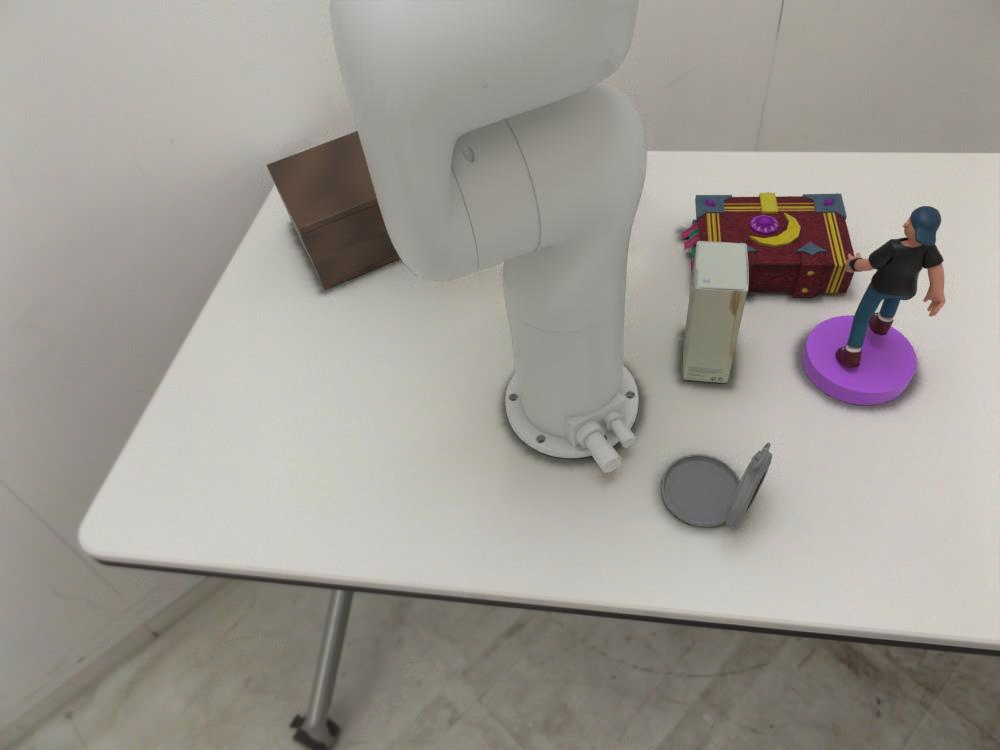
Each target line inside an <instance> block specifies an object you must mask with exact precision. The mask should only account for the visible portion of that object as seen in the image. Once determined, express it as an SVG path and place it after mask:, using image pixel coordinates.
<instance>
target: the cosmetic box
mask: <svg viewBox="0 0 1000 750" xmlns="http://www.w3.org/2000/svg"><path fill="white" fill-rule="evenodd" d="M748 269H749V268H748V254H747V244H745V243H727V242H710V241H698V242H697V245H696V252H695V260H694V268H692V276H691V283H690V292H689V300H688V307H687V314H686V322H685V330H684V335H683V336H684V337H683V350H682V351H683V352H682V353H683V354H682V379H683V380H685V381H687V380H688V381H697V382H707V383H720V384H721V383H722V384H727V383H728V382H729V378H730V374H731V369H732V366H733V365H732V364H733V360H734V355H735V352H736V346H737V342H738V337H739V332H740V328H741V323H742V318H743V313H744V310H745V304H746V299H747V296H748V294H747V292H748V284H749V271H748ZM748 293H749V292H748Z"/></svg>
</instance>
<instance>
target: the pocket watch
mask: <svg viewBox="0 0 1000 750" xmlns="http://www.w3.org/2000/svg"><path fill="white" fill-rule="evenodd" d="M770 448H771V442H766V444H765V445H764V446H763V447H762V448H761V450H758V451H757V452H756V453H755V454H753V456H752V457H751V460H750V461H749V463H748V465H747V467H746V469H745V471H744V472H743V474H742V476H741V478H739V476H738V474H737V472H736V471H735V470H734V469H732V468H731V467H730V465H729V464H727V463H726V462H724V461H722V460H721V459H718V458H717V457H714V456H711V455H707V454H699V453H697V454H688V455H685V456H681V457H679V458H678V459H676V460H674V461H672V462H671V463H670V464H669V465H668V467H666V469H665V471H664V472H663V475H662V478H661V481H660V489H661V490H660V491H661V496H662V500H663V502H664V504H665V505H666V507H667V509H668V510H669V511H670V512H671V514H673V515H674V516H675V517H677V518H678V519H680V520H681V521H682V522H685V523H687V524H689V525H692V526H695V527H701V528H702V527H704V528H706V527H707V528H709V527H711V528H712V527H716V526H720V525H722V524H725V526H727V527H729V528H731V529H738V528H739V527H740V526H741V525H742V524H743V522H744V520H745V518H746V516H747V515H748V512H749V511H750V509H751V507H752V505H753V503H754V501H755V499H756V498H757V495H758V492H759V491H760V488H761V487H762V485H763V483H764V481H765V478H766V476H767V474H768V471H769V469H770V466H771V463H772V459H773V454H772V453H771V452H770V451H769V450H770Z"/></svg>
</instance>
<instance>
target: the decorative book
mask: <svg viewBox="0 0 1000 750" xmlns="http://www.w3.org/2000/svg"><path fill="white" fill-rule="evenodd" d="M844 203H845V202H844V199H843V195H842V193H803V194H802V195H801V196H800V195H798V196H797V195H794V196H793V195H792V196H791V195H790V196H788V195H786V196H784V195H783V196H782V195H781V196H780V195H779V196H776V192H759V194H758V196H733V194H695V198H694V204H695V218H696V219H692V222H691V226H689V227H688V228H686V229H685V230H683V231H681V240H684V239H687V238H688V240H685V241H684V242H683V249H684V251H686V250H688V249H690V248H692V247H694V248H693V249H691V261H690V272H693V268H694V260H695V252H696V245H697V242H698V241H710V242H727V243H745V244H747V254H748V268H749V269H748V271H749V284H748V292H747V295H748V294H749V293H790V294H791V293H792V297H794V298H798V297H799V298H815V297H816V295H817V294H848V290H849V287H850V285H851V283H852V280H853V277H854V274H855V272H853V273H850V272H846V266H845V265H846V261H847V260H848V254H851V256H853V257H855V256H856V255H855V253H854V248H853V244H852V240H851V237H850V232H849V228H848V225H847V217H848V216H847V212H846V208H845V204H844Z"/></svg>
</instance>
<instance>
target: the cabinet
mask: <svg viewBox="0 0 1000 750" xmlns="http://www.w3.org/2000/svg"><path fill="white" fill-rule="evenodd" d="M266 168H267V170H268V172H269V174H270V176H271V179H272V181H273V183H274V185H275V188H276V191H277V192H278V195H279V197H280V199H281V201H282V203H283V207H284V208H285V210H286V212H287V215H288V218H289V220H290V221H291V224H292V225H293V228H294V230H295V232H296V234H297V236H298V238H299V240H300V242H301V244H302V247H303V248H304V250H305V252H306V254H307V256H308V258H309V261H310V263H311V264H312V267H313V269H314V271H315V273H316V275H317V277H318V279H319V281H320V283H321V285H322V287H323V290H325V291H326V290H328V289H331V288H333V287H336V286H338V285H340V284H343V283H344V282H348V281H350V280H352V279H355V278H357V277H360V276H362V275H365V274H367V273H369V272H371V271H374V270H376V269H379V268H381V267H384V266H386V265H388V264H390V263H394V262H395V261H398V260H401V258H400V257H399V255H398V253H397V251H396V250H395V248H394V246H393V244H392V242H391V239H390V237H389V234H388V232H387V229H386V226H385V223H384V220H383V217H382V214H381V211H380V208H379V204H378V201H377V197H376V194H375V190H374V187H373V183H372V180H371V176H370V173H369V169H368V166H367V162H366V159H365V155H364V152H363V148H362V145H361V141H360V138H359V135H358V131H357V130H356V131H353V132H350V133H348V134H345V135H343V136H340V137H337V138H334V139H332V140H329V141H327V142H323V143H321V144H318V145H316V146H313V147H310V148H308V149H305V150H302V151H300V152H297V153H294V154H292V155H288V156H287V157H283V158H281V159H277V160H275V161H273V162H270V163H267V164H266Z"/></svg>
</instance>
